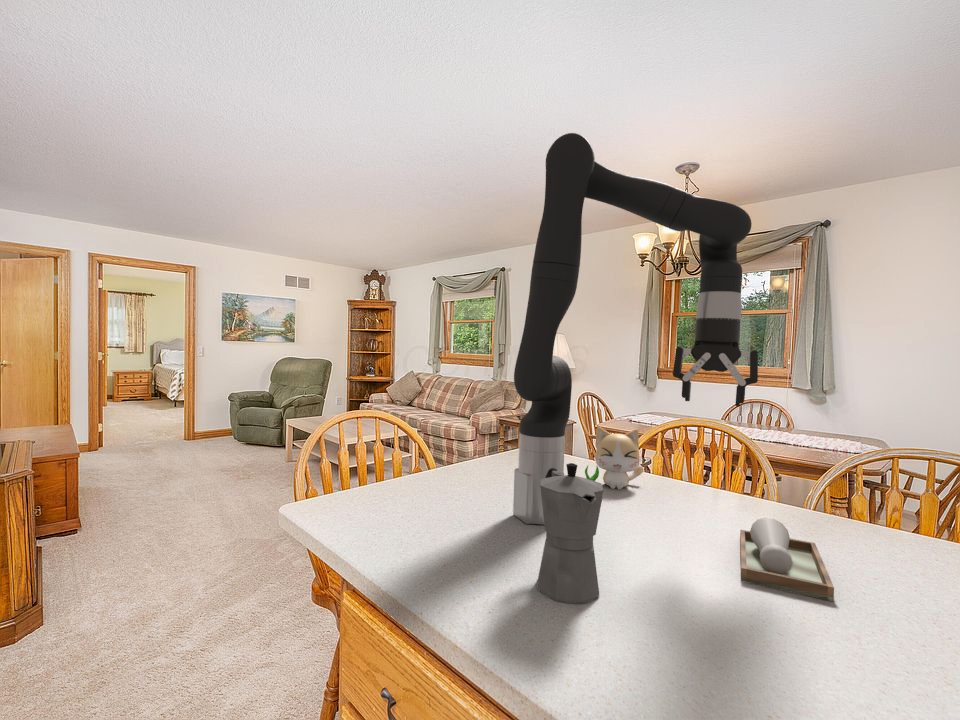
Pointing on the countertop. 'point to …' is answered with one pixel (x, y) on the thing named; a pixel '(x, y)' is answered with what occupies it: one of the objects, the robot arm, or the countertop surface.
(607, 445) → the kitten
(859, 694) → the countertop surface
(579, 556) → the coffeepot
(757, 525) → the salt shaker
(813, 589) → the tray
